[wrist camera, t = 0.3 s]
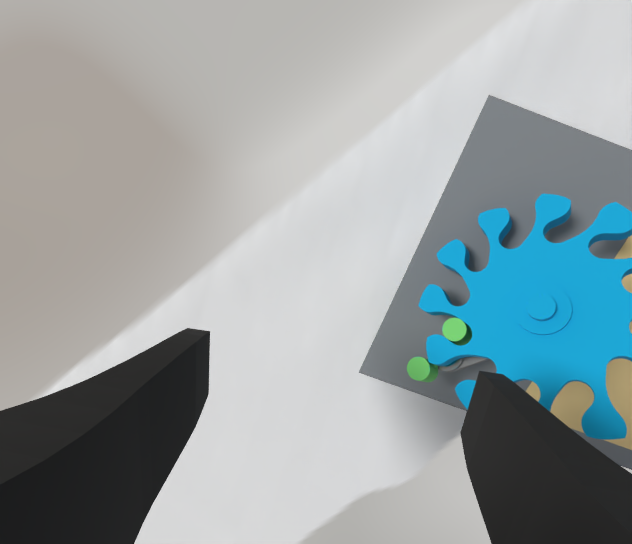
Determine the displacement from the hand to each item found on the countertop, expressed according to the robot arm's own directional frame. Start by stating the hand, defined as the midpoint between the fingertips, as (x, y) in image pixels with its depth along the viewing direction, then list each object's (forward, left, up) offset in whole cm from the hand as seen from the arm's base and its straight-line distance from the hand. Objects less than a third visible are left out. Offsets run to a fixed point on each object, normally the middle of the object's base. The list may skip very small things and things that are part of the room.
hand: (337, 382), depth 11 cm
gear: (-8, -1, -11) cm, 13 cm away
